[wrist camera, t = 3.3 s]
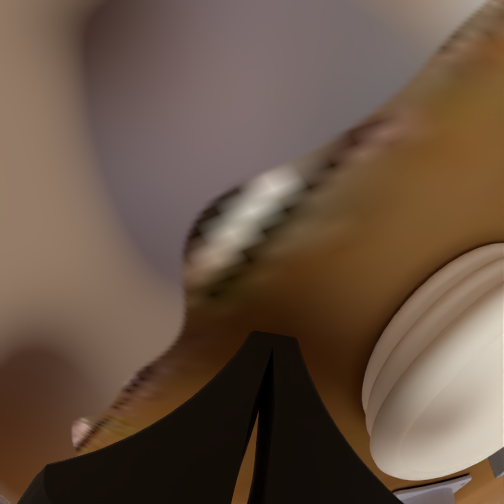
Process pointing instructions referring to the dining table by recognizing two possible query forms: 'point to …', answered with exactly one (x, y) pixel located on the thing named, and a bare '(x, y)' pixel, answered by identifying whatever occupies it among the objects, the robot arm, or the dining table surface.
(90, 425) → the dining table surface
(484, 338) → the cream round disc
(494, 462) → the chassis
